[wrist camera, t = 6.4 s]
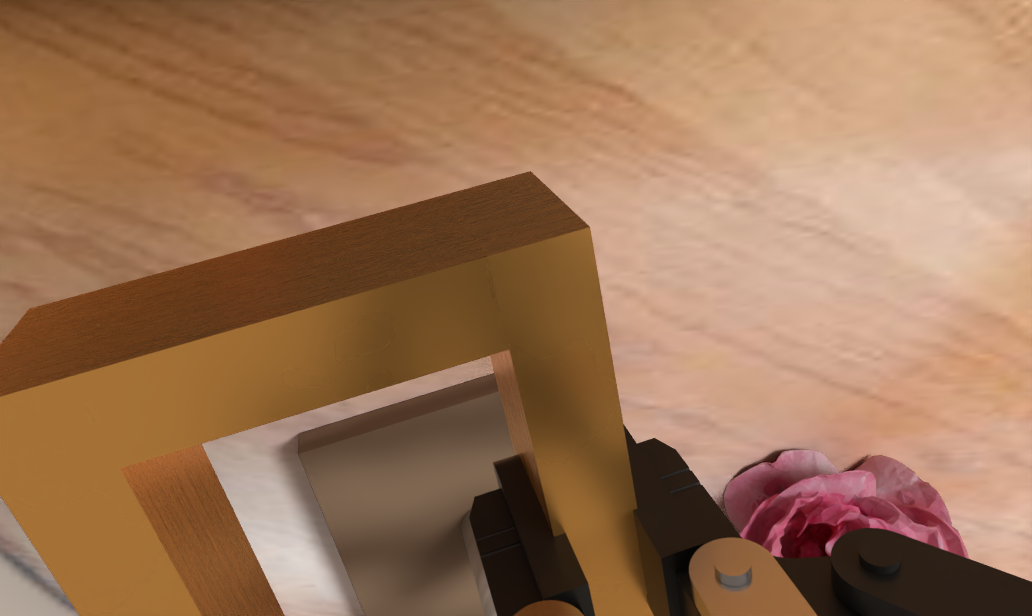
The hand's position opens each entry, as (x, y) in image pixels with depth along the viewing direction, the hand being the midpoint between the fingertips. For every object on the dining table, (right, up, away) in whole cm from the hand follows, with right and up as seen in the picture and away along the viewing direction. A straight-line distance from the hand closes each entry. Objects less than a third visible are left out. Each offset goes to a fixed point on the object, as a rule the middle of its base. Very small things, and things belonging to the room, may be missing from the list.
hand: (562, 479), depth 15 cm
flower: (+14, -7, +26) cm, 31 cm away
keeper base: (-3, -6, +21) cm, 22 cm away
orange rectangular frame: (-3, -1, 0) cm, 3 cm away
